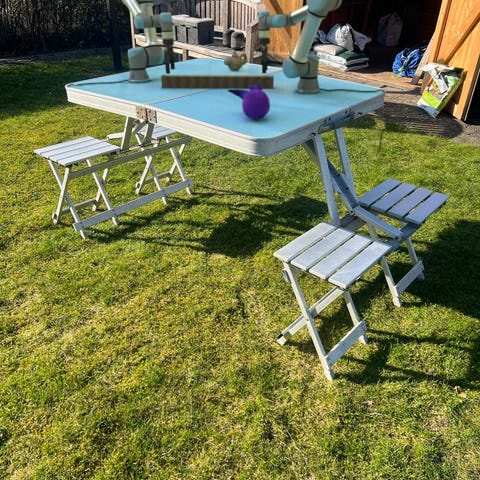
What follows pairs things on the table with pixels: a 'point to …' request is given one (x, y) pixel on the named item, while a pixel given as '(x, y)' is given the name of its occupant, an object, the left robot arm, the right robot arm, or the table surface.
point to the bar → (217, 81)
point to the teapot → (235, 61)
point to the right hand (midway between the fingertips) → (264, 71)
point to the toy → (254, 102)
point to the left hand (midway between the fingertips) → (170, 71)
